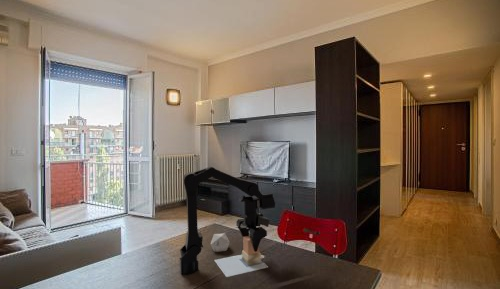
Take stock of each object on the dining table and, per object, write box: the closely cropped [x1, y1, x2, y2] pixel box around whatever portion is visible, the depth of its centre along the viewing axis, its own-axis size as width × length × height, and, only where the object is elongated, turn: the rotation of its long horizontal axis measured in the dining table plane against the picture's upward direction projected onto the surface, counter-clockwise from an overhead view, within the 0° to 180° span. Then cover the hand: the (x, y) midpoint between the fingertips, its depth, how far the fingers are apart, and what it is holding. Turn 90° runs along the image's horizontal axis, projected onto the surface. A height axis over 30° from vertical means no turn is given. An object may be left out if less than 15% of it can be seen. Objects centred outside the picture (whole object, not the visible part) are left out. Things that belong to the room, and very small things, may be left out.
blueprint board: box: [214, 254, 269, 278], centre depth 110 cm, size 18×16×1 cm
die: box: [210, 232, 231, 253], centre depth 125 cm, size 8×9×10 cm
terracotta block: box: [242, 235, 260, 255], centre depth 112 cm, size 5×5×6 cm
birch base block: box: [241, 250, 262, 265], centre depth 112 cm, size 6×6×4 cm
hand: (251, 247), depth 112 cm, fingers open, 9 cm apart
